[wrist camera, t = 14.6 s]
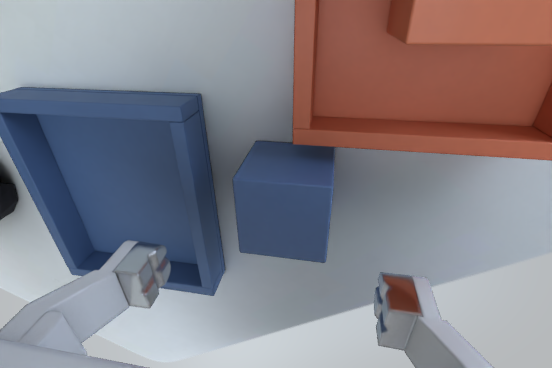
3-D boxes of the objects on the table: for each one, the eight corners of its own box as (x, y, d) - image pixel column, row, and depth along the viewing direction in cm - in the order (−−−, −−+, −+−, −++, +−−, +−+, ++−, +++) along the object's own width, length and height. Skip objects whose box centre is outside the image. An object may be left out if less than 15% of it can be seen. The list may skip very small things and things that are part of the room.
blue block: (328, 211, 19) (325, 263, 15) (258, 204, 19) (239, 253, 16) (335, 145, 16) (333, 187, 13) (255, 140, 17) (231, 178, 13)
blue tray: (225, 270, 23) (213, 296, 21) (93, 252, 25) (71, 275, 23) (201, 93, 16) (180, 106, 14) (21, 87, 18) (-21, 97, 16)
